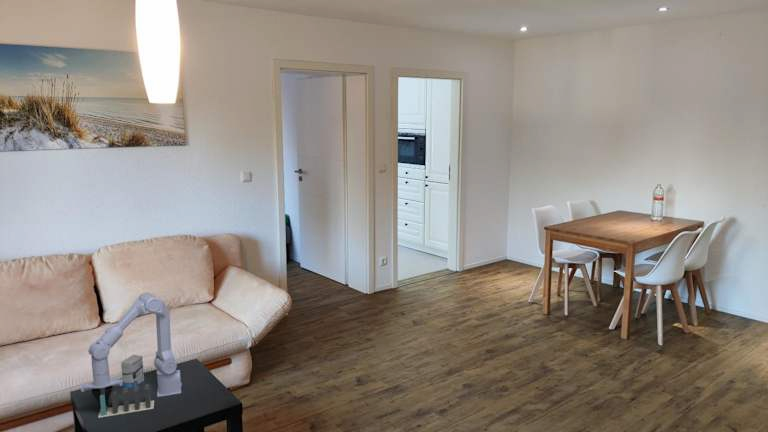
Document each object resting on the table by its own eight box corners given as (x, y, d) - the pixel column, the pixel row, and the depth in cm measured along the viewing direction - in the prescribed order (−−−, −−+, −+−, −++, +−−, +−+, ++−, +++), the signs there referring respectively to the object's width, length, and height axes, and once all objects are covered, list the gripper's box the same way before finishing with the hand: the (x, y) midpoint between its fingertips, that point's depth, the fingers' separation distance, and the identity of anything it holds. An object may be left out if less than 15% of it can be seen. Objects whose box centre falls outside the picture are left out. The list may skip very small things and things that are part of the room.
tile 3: (129, 405, 227) (128, 387, 225) (128, 411, 222) (126, 392, 221) (125, 406, 226) (123, 387, 225) (124, 412, 222) (122, 393, 220)
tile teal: (107, 409, 224) (105, 390, 223) (106, 415, 219) (104, 396, 218) (103, 409, 223) (101, 391, 222) (101, 415, 219) (99, 396, 217)
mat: (154, 400, 231) (154, 400, 231) (153, 408, 224) (153, 408, 224) (100, 409, 224) (100, 409, 224) (98, 418, 218) (98, 417, 217)
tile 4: (140, 403, 228) (138, 385, 227) (139, 409, 223) (138, 390, 222) (136, 404, 228) (134, 386, 226) (135, 410, 223) (133, 391, 222)
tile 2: (118, 407, 225) (117, 388, 224) (117, 413, 221) (115, 394, 219) (114, 407, 225) (112, 389, 224) (113, 413, 220) (111, 394, 219)
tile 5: (150, 402, 229) (149, 383, 228) (150, 407, 225) (148, 389, 223) (146, 402, 229) (145, 384, 228) (146, 408, 224) (144, 389, 223)
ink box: (132, 389, 241) (130, 363, 239) (122, 388, 242) (120, 362, 240) (144, 380, 250) (142, 355, 248) (134, 379, 250) (132, 354, 249)
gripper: (122, 365, 225) (125, 397, 227) (81, 371, 220) (85, 403, 222) (120, 372, 218) (123, 405, 221) (78, 378, 213) (82, 411, 216)
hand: (104, 404), depth 221 cm, fingers closed
